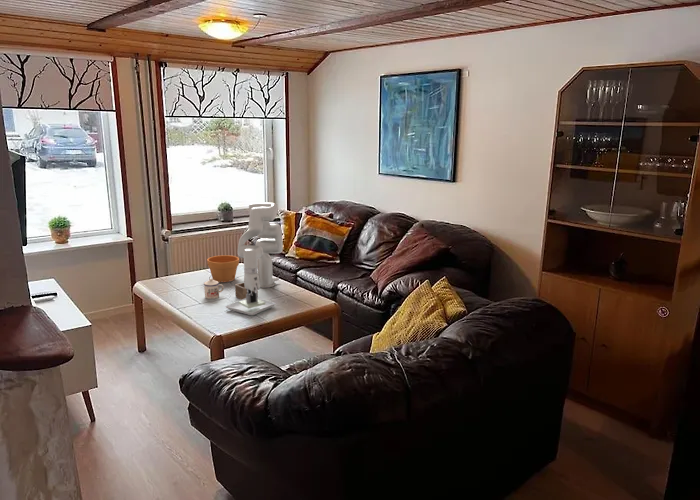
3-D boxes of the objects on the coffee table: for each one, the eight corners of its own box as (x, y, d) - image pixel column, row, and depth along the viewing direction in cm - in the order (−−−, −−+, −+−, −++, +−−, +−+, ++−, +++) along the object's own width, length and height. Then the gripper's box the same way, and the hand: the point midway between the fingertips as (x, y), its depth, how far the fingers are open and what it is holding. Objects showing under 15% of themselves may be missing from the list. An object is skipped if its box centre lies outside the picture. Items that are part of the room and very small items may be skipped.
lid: (255, 299, 319) (255, 289, 318) (265, 304, 311) (265, 294, 310) (238, 303, 312) (238, 293, 311) (248, 308, 304) (248, 298, 303)
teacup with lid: (206, 300, 330) (205, 281, 327) (203, 295, 338) (202, 277, 335) (225, 297, 335) (225, 279, 333) (222, 293, 343) (221, 275, 341)
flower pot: (229, 273, 386) (228, 253, 383) (245, 280, 371) (244, 259, 368) (202, 279, 373) (201, 258, 369) (218, 286, 358) (216, 264, 354)
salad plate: (252, 318, 301) (252, 312, 301) (224, 311, 312) (224, 305, 312) (276, 308, 319) (276, 302, 318) (250, 301, 330) (249, 295, 329)
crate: (249, 293, 343) (249, 281, 341) (257, 297, 336) (257, 285, 334) (235, 296, 337) (235, 284, 335) (243, 300, 329) (243, 288, 328)
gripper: (264, 272, 303) (265, 303, 308) (249, 266, 315) (250, 296, 320) (252, 274, 299) (253, 306, 303) (237, 268, 310) (239, 298, 315)
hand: (251, 300), depth 311 cm, fingers closed on lid, 2 cm apart
